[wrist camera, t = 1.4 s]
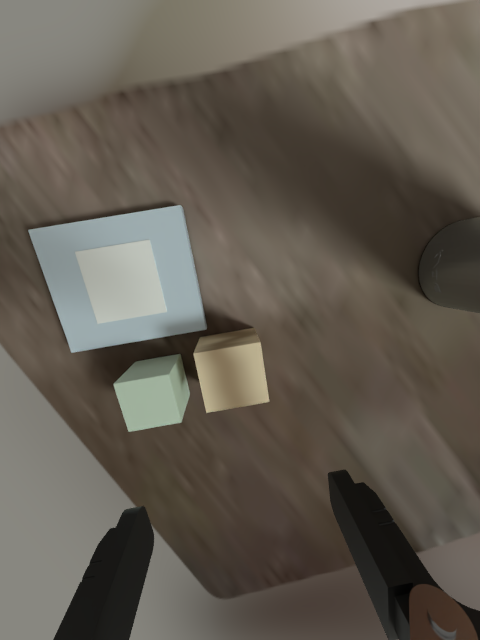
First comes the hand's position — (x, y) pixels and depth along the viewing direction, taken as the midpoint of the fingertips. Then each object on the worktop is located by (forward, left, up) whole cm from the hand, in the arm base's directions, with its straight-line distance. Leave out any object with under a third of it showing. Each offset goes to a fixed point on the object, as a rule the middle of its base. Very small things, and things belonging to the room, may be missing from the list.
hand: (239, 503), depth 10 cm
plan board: (+9, -10, -16) cm, 21 cm away
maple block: (0, 0, -16) cm, 16 cm away
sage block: (+8, +1, -16) cm, 18 cm away
